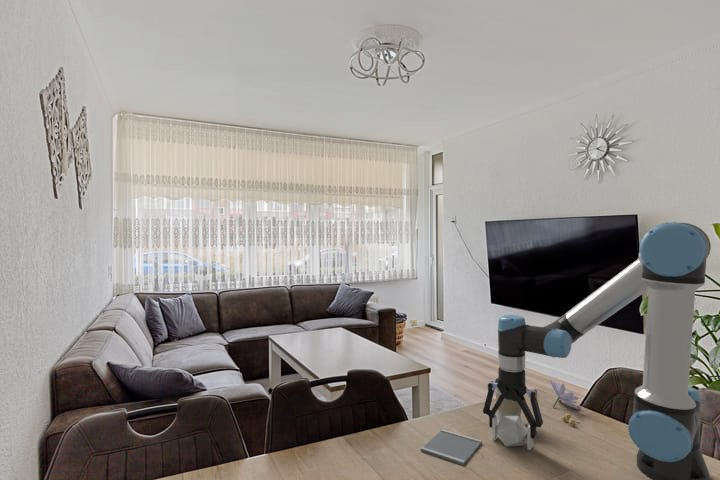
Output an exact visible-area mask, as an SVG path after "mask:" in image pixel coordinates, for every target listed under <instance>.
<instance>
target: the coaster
mask: <svg viewBox="0 0 720 480" xmlns="http://www.w3.org/2000/svg"><path fill="white" fill-rule="evenodd" d="M482 444H483V440H480V439H477V438H475V437H470V436H467V435H464V434H460V433H457V432H453V431H449V430H445V429H440V431H438V432H437V434H435V435H434V436H433V437H432V438H431V439H430V440H428V442H427V443H426V444H425V445H423V446H421V447H420V452H422V453H425V454H428V455H431V456H433V457H438V458H440V459H444V460H447V461H450V462H452V463H455V464H459V465H461V466H465V465H466V463H467V462H468V461H469V460H470V459H471V457H472V456H473V455H474V454H475V453H476V451H477V450H478V449H479V447H480V446H481V445H482Z"/></svg>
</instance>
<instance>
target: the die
mask: <svg viewBox="0 0 720 480" xmlns="http://www.w3.org/2000/svg"><path fill="white" fill-rule="evenodd" d="M496 432H497V433H498V437H499V438H500V440H501V441H502V443H503V445H504V447H523V446H524V444H525V441H526V439H527V426H526V424H525V423H524V422H523V420H522V419H520V417H519V416H502V417H501V419H500V422H499V421H498V426H497V429H496Z"/></svg>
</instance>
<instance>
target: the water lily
mask: <svg viewBox="0 0 720 480" xmlns="http://www.w3.org/2000/svg"><path fill="white" fill-rule="evenodd" d="M548 381H549V383H550V384H549V386H550V388H551V390H552V391H553V392H554V394H555V395H556V396H555V397H556V400H555V401H554V403H553V405H552V408H553V407H554V408H555V407H556V405H557V403H558V402H559V401H560V402H562V401H563V402H564V403H565V404H566V405H568V406H570V407H572V408H573V409H576V410H579V411H581V410H580V408H579V407H578V406H577V405H575V404H577V402H576V401H578V400H580V398H579V397H577V396H575V393H574V392H566V386H565V384H564V383H563V382H562V383H561V382H560V381H557V384H556V383H555V381H554V380H553V379H552V378H549V380H548Z"/></svg>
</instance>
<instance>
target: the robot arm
mask: <svg viewBox="0 0 720 480" xmlns="http://www.w3.org/2000/svg"><path fill="white" fill-rule="evenodd" d="M711 248H712V247H711V241H710V238H709V236H708V234H706V232H705V231H704V230H703V229H702V228H700V227H699V226H696V225H694V224H692V223H687V222H679V221H678V222H677V221H672V222H665V223H661V224H658V225H656V226H653V227H652V228H651V229H649V230H648V231H647V232H646V233H645V234H644V235H643V237H642V239H641V241H640V244H639V252H638V257H637V259H636V260H635V261H633V262H632V263H630V264H629V265H628V266H626V267H625V268H624V269H622V270H621V271H620V272H619V273H618V274H615V276H613V277H612V278H611V279H610V280H608V281H606V282H605V283H604V284H602V285H601V286H600V287H598V288H597V289H596V290H594V291H593V292H592V293H590V294H589V295H587V296H586V298H584V299H582V301H579V303H577V304H576V305H575V306H573V307H572V308H571V309H569V310H568V311H567V312H565V313H564V314H563V315H561V316H560V317H559V318H558V319H556V320H555V321H553V322H552V323H549V324H547V325H545V326H537V325H529V324H526V319H525V318H524V317H523V316H521V315H516V314H504V315H501V316H499V318H498V321H497V323H498V324H497V325H498V326H497V342H498V350H497V351H498V352H497V354H498V357H497V358H498V360H497V361H498V363H497V364H498V372H497V373H498V377H497V378H498V380H499V381H498V383H495V381H493V380H491V381H490V382H488V383H487V394H486V397H485V401H484V404H483V405H484V406H483V410H482V412H483V414H484V415H487V416H488V418H489V421H488V422H489V423H488V424H489V428H492V433H491V435H492V436H491V437H492V440H493V441H496V440H497V439H498V437H499V435H498V433H497V432H496V429H497V426H498V424H499V421H498V414H497V413H498V408H499V407H500V405H501V403H502V402H503V400H504V399H505V398H506V399H507V400H513V401H517V402H518V404H519V405H520V407H521V409H522V410H521V412H522V413H523V415H524V417H525V418H526V420H527V423H528V426H526V428H527V437H526V439H527V444H526V445H527V446H526V447H527V450H528V451H531V449H532V448H533V447H534V446H533V445H534V444H533V439H535V438H536V437H537V428H541V427H542V426H543V424H544V421H543V417H542V413H541V409H540V406H539V402H538V398H537V397H538V390H537V389H533V390H532V389H530V388H529V389H528V388H527V386H526V385H527V384H526V370H525V369H526V352H528V353H533V354H537V355H543V356H547V357H551V358H561V359H564V358H565V359H566V358H568V356H570V353H571V350H572V344H574V343H576V341H577V340H579V339H580V338H581V337H582V336H584V335H586V334H587V333H588V332H589V331H591V330H593V329H594V328H596V327H597V326H599V325H600V324H601V323H602V322H604V321H605V320H607V319H608V318H610V317H611V316H613V315H615V313H617V312H618V311H620V310H621V309H623V308H624V307H626V306H628V305H629V304H630V303H631V302H633V301H634V300H636V299H637V298H638V297H640V296H642V295H643V294H644V293H646V292H647V291H648V296H647V308H646V309H647V310H646V311H647V312H646V325H645V326H646V327H645V341H644V342H645V343H644V344H645V345H644V357H643V359H644V360H643V373H642V385H641V384H640V386H638V387H636V388H635V389H634V392H633V393H634V395H633V407H632V408H633V410H632V415H631V416H630V418H629V420H628V426H627V427H628V429H627V430H628V434H629V437H630V439H631V441H632V442H633V444H635V446H636V447H637V448H638V451H637V453H636V466H637V468H638V469H639V471H640V472H641V473H643V474H644V475H645V476H646V477H648V478H650V479H652V480H710V472H709V469H708V466H707V464H706V461H705V458H704V456H703V453H702V451H701V404H702V400H701V394H700V391H698V390H697V389H696V388H693V387H691V386H689V384H690V372H691V371H690V369H691V358H692V343H693V329H694V327H693V326H694V313H695V301H696V300H695V299H696V291H697V290H698V289H699V288H701V287H703V286H705V283H706V272H707V270H706V268H707V259H708V257H709V256H710V252H711ZM496 387H497V388H498V389H499V391H500V392H501V395H500V397H499V398H498V400H497V402H495V403H494V405H493V407H492V409H490V408H491V406H492V405H491V404H492V401H493V399H494V395H495V394H494V393H495V390H496ZM525 394H527V396H528V398H529V400H530V404H531V405H530V406H531V408H532V412H531V409H530V407H529V405H528V404H527V401H526V398H525ZM496 414H497V415H496Z"/></svg>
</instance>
